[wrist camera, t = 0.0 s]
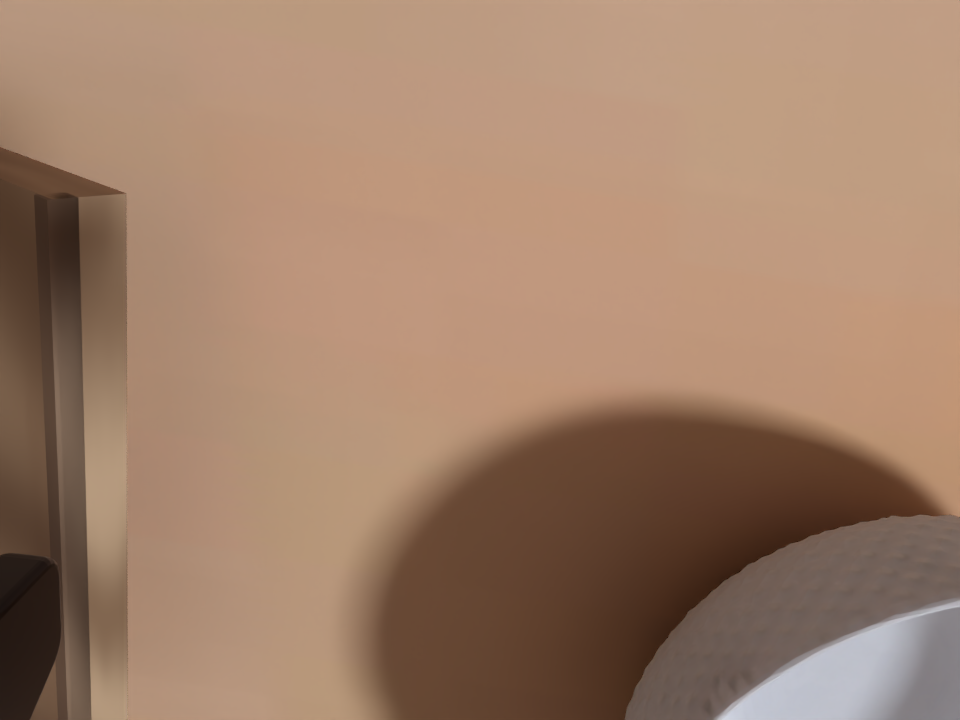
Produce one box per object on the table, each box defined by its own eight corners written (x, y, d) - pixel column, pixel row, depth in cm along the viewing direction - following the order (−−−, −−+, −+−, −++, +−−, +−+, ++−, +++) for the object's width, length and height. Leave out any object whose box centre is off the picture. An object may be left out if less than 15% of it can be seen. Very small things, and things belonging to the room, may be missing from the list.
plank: (128, 809, 22) (73, 852, 21) (-16, 680, 25) (-72, 711, 24) (126, 193, 16) (47, 199, 14) (-66, 123, 19) (-145, 123, 18)
